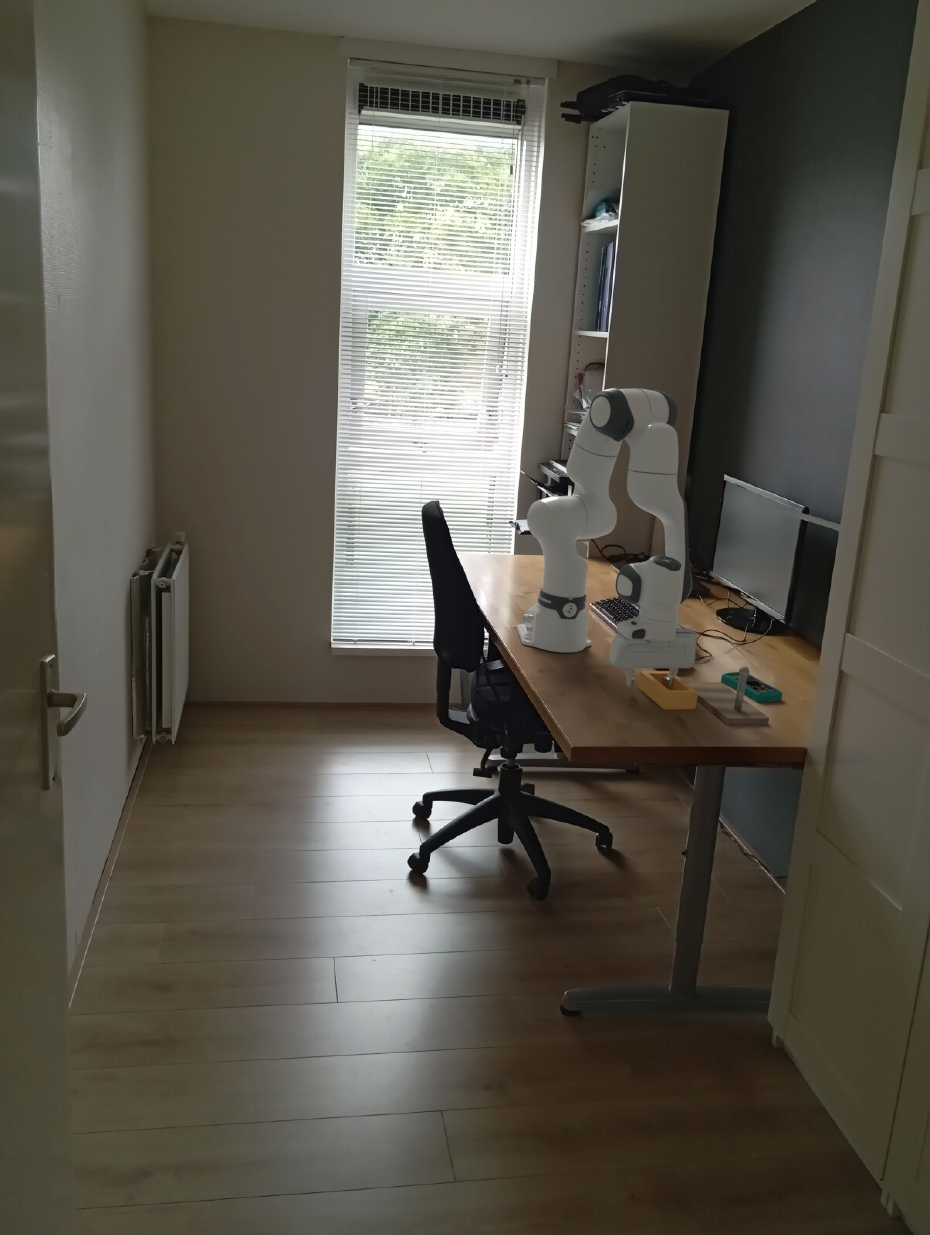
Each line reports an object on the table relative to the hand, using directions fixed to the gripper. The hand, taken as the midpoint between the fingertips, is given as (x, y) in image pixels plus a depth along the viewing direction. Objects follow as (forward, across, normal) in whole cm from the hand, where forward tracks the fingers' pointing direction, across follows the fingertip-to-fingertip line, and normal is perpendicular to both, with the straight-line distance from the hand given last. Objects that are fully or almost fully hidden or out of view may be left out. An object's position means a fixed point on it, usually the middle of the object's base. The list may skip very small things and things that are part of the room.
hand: (648, 685), depth 235 cm
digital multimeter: (+3, -27, -1) cm, 28 cm away
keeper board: (+2, -15, +8) cm, 17 cm away
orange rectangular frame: (+2, -3, +3) cm, 5 cm away
